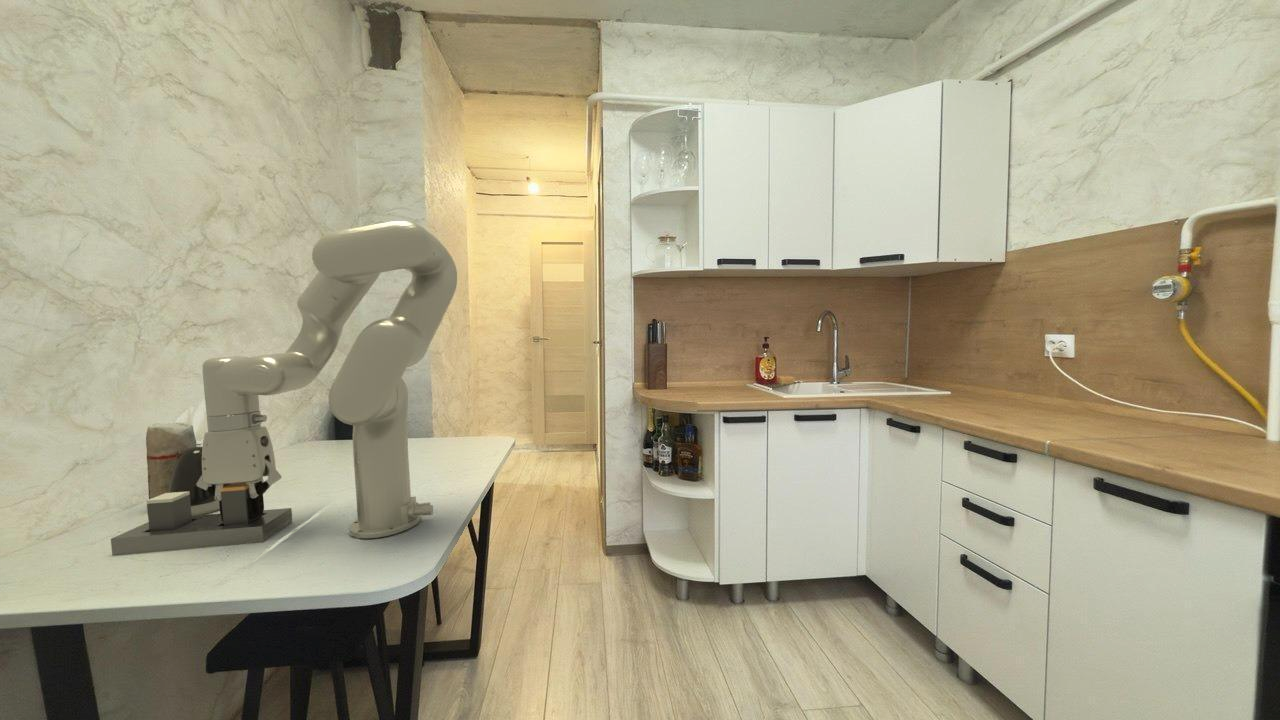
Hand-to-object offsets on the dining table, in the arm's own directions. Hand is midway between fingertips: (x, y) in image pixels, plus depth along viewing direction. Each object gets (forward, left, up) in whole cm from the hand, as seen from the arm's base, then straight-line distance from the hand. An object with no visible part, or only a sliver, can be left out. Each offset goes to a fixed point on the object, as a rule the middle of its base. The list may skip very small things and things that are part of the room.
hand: (242, 516), depth 88 cm
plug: (0, 0, -2) cm, 2 cm away
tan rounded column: (+28, -22, -5) cm, 36 cm away
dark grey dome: (+19, -17, -5) cm, 26 cm away
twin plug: (+12, 0, -4) cm, 13 cm away
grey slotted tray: (+6, 0, -5) cm, 8 cm away
